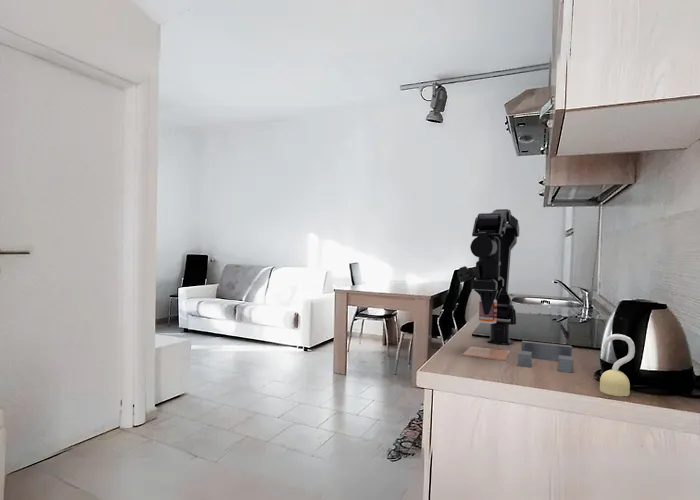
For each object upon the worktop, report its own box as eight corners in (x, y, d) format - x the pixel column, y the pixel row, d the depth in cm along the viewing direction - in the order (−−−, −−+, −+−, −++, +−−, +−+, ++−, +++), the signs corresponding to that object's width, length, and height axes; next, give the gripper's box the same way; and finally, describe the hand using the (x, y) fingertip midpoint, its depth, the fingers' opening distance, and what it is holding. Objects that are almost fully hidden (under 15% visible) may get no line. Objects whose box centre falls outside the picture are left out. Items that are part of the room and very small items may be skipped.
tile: (470, 347, 127) (470, 346, 127) (509, 352, 122) (509, 350, 122) (462, 355, 117) (462, 353, 117) (505, 360, 113) (505, 359, 113)
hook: (604, 394, 87) (605, 335, 87) (596, 387, 92) (597, 330, 92) (638, 398, 85) (639, 337, 85) (629, 390, 90) (630, 333, 90)
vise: (523, 351, 123) (523, 338, 124) (570, 357, 118) (571, 342, 118) (517, 365, 108) (518, 349, 108) (572, 372, 102) (572, 355, 102)
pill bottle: (497, 324, 117) (498, 293, 117) (479, 323, 118) (480, 292, 118) (495, 321, 122) (496, 292, 122) (478, 320, 123) (478, 291, 123)
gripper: (466, 256, 132) (465, 307, 132) (452, 257, 115) (451, 315, 115) (504, 257, 127) (503, 310, 127) (496, 258, 110) (494, 319, 110)
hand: (487, 313), depth 120 cm, fingers closed on pill bottle, 5 cm apart
